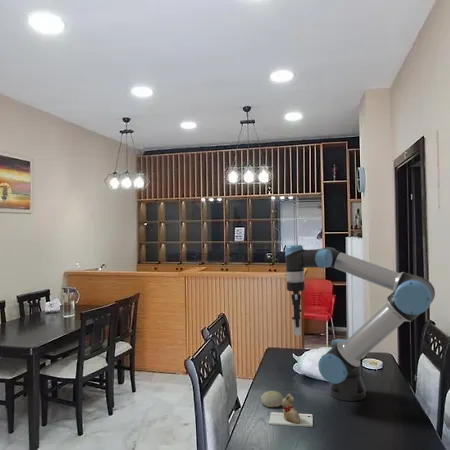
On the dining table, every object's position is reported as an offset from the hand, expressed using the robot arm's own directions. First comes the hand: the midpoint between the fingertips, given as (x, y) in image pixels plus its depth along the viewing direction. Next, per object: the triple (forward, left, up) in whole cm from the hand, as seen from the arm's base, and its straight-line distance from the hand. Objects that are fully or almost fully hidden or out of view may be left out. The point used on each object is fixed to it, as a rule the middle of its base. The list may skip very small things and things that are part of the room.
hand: (297, 331), depth 177 cm
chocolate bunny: (+3, +22, -28) cm, 36 cm away
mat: (+3, +22, -29) cm, 36 cm away
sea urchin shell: (+11, +7, -29) cm, 32 cm away
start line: (+3, +16, -29) cm, 33 cm away
